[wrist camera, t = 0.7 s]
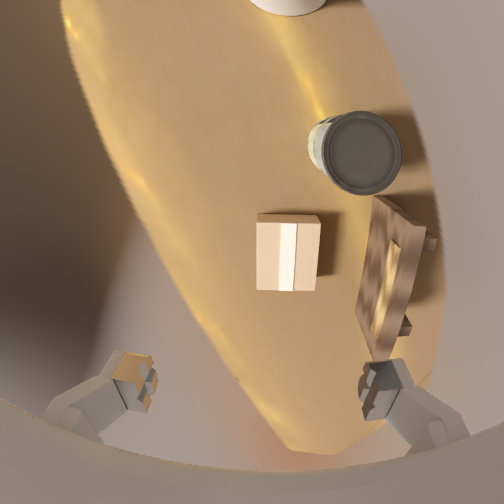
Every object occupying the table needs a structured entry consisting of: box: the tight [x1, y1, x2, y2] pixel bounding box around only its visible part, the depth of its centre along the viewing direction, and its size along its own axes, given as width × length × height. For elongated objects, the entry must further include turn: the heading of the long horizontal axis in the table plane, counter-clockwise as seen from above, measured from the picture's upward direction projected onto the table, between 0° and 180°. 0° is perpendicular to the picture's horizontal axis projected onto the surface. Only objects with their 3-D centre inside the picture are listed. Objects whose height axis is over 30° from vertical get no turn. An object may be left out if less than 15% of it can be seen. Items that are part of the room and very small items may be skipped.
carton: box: [257, 214, 321, 291], centre depth 49 cm, size 12×10×5 cm
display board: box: [355, 196, 437, 361], centre depth 44 cm, size 24×7×16 cm, turn 0°
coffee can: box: [308, 111, 402, 195], centre depth 37 cm, size 10×10×14 cm
